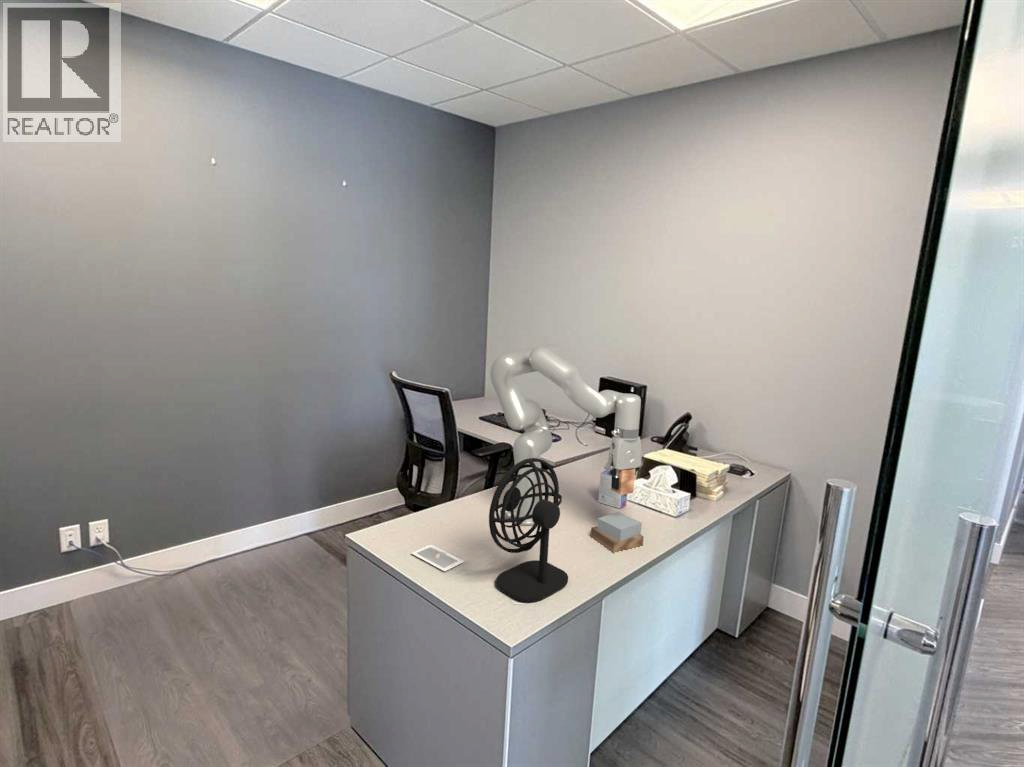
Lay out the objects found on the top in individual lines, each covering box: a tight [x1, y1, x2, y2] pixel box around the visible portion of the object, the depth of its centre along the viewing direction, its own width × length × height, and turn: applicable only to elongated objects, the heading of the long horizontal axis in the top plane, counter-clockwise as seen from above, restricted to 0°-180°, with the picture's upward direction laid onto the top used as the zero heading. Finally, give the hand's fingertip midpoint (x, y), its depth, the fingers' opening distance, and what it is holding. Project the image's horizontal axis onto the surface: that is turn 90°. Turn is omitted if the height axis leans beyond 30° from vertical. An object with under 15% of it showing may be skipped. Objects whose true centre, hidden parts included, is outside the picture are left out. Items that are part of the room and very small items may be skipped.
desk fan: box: [488, 458, 569, 603], centre depth 148 cm, size 27×18×35 cm, turn 135°
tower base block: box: [590, 525, 644, 554], centre depth 177 cm, size 12×12×4 cm
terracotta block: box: [611, 468, 636, 495], centre depth 173 cm, size 5×5×8 cm
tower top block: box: [596, 511, 642, 542], centre depth 176 cm, size 10×10×4 cm
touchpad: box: [410, 544, 465, 572], centre depth 161 cm, size 8×15×2 cm, turn 50°
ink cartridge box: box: [597, 469, 628, 509], centre depth 207 cm, size 10×6×14 cm, turn 53°
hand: (622, 486), depth 174 cm, fingers closed on terracotta block, 5 cm apart
